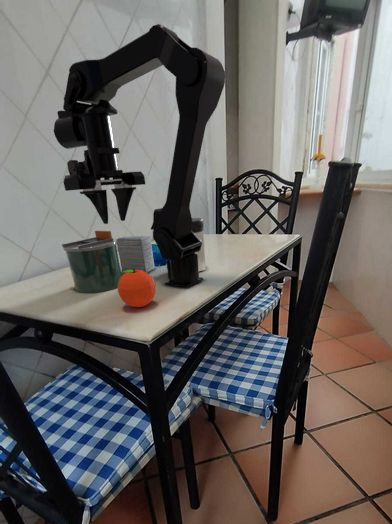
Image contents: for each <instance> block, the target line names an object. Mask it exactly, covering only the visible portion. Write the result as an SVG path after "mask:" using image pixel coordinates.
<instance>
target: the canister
mask: <svg viewBox="0 0 392 524" xmlns="http://www.w3.org/2000/svg"><path fill="white" fill-rule="evenodd" d="M95 238H96V236H95V237H94V236H93V237H89V238H85V239H80V240H75V241H71V242H66V243H62V244H61V247H62V249H63V251H64V252H65V254H66V259H67V262H68V265H69V270H70V273H71V277H72V281H73V285H74V289H75V290H76V291H77V292H79V293H84V294H85V293H87V294H92V293H100V292H102V293H103V292H107V291H110V290H114V289H117V288H118V283H119V280H120V278H121V276H122V275H123V274H122V273H121V272H122V268H121V263H120V258H119V252H118V247H117V241H116V239H114V238H113V237H112V238H109V239H105V240H101V241H96V242H92V243H87V244H83V243H81V242H82V241H86V240H91V239H95ZM118 274H119V275H118ZM117 275H118V276H117ZM116 276H117V277H116ZM115 278H116V280H115ZM114 282H115V283H114Z"/></svg>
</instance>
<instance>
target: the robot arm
mask: <svg viewBox="0 0 392 524" xmlns="http://www.w3.org/2000/svg"><path fill="white" fill-rule="evenodd" d="M162 66H163V67H164V68H165V69H166V70H167V71H168V72H169V73H171V74H172V75H173V76H174V77H175V92H174V94H175V99H176V104H177V105H176V106H177V110H178V115H179V116H178V124H177V125H178V126H177V131H176V138H175V142H174V143H175V144H174V148H173V156H172V162H171V169H170V173H169V175H170V176H169V181H168V182H169V183H168V187H167V193H166V199H165V203H164V205H163V206H162V207H161V208H155V209H154V210H153V214H152V224H151V227H150V230H151V231H152V238H153V239H152V240H153V241H154V242H155V244H156V245H157V248H158V251H159V253H160V255H161V258H162V259H163V260H166V269H167V278H168V280H166V281H165V282H164V284H165V285H168V286H174V287H179V288H189V287H191V286H194V285H196V284H198V283H201V282H202V281H204V277H201V276H200V272H199V270H198V255H197V254H195V253H196V252H199V251H200V250H201V246H202V242H201V240H200V239H199V238H198V237H197V236H196V235H195V234H194V233H193V232H192V218H193V217H192V213H191V209H190V207H191V206H190V205H191V199H192V195H193V191H194V185H195V181H196V177H197V176H196V175H197V171H198V166H199V161H200V156H201V151H202V146H203V142H204V136H205V133H206V128H207V124H208V122H209V120H210V119H211V117H212V116H213V114H214V113H215V111H216V109H217V108H218V105H219V101H220V99H221V96H222V94H223V90H224V87H225V85H226V71H225V68H224V66H223V63H222V62H221V61H220V59H218V58H216V57H214V56H213V55H211V54H209V53H207V52H206V51H204V50H202V49H200V48H199V47H192V46H190V45H189V44H188V43H186V42H185V41H184V40H183V39H181V38H180V37H179V36H178V34H177V33H176V32H175V31H174V30H172V29H170V28H168V27H166V26H165V25H163V24H161V23H157V24H154V25H152V26H151V27H150V28H149V30H148V31H146V32H145V33H142V35H140V36H138V37H137V38H135V39H133V40H132V41H130V42H129V43H126V44H124V45H123V46H122V47H120V48H118V49H117V50H115V51H113V52H111V53H110V54H108V55H106V56H105V57H103V58H99V59H83V60H80V61H77V62H74V63H72V64H71V65H70V67H69V69H68V76H67V81H66V88H65V94H64V96H63V105H62V109H63V110H58V111H57V113H56V114H57V117H58V118H57V119H56V120H55V122H54V123H53V124H54V125H53V134H54V137H55V139H56V141H57V142H58V144H59V145H60V146H61V147H63V148H64V149H67V150H71V149H76V148H82V147H83V148H84V147H86V148H87V149H85V150H83V157H84V159H83V161H78V160H77V159H69V160H68V161H67V162H66V165H67V172H68V174H67V175H65V176H64V178H63V182H62V183H63V187H64V190H65V192H66V191H68V192H69V191H79V194H80V195H84V196H85V197H86V198H87V199H88V200H89V201H90V203H92V205H93V207H94V208H95V210H96V212H97V214H98V216H99V217H100V220H101V221H102V223H103V224H104V225H108V224H109V208H108V195H107V194H108V193H107V189H103V188H102V186H112V185H113V187H114V188H111V192H112V193H113V195H114V196H115V200H116V206H117V210H118V215H119V219H120V221H121V222H124V221H126V217H127V213H128V210H129V207H130V203H131V200H132V197H133V194H134V191H136V190H137V187H136V186H142V185H146V178H145V177H146V176H145V175H144V173H143V171H125V172H123V169H119V165H118V159H117V155H118V154H120V148H119V147H115V141H114V135H113V134H114V133H113V128H112V123H111V116H115V115H118V110H117V109H116V108H115V107H114V106H113V105H112V104H111V103H110V101H112V100H113V99H114V98H115V97H116V95H117V93H118V91H119V89H120V88H122V87H124V86H125V85H126V84H129V83H131V82H132V81H135V80H136V79H139V78H140V77H143V76H144V75H146V74H148V73H150V72H153V71H154V70H156V69H158V68H160V67H162ZM81 190H82V191H81Z"/></svg>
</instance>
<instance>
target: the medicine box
mask: <svg viewBox="0 0 392 524" xmlns="http://www.w3.org/2000/svg"><path fill="white" fill-rule="evenodd" d="M115 240H116V241H117V244H116V248H117V253H118V258H119V264H120V269H121V272H123V271H126V270H133V269H135V270H142V271H144V272H146V273H150V272H152V271H154V269H155V268H156V267H155V261H154V254H153V248H152V240H151V236H150V235H124V236H121V237H118V238H116V239H115ZM123 273H124V272H123Z"/></svg>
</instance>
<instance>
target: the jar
mask: <svg viewBox="0 0 392 524" xmlns="http://www.w3.org/2000/svg"><path fill="white" fill-rule="evenodd" d="M204 226H205V225H204V219H203V218H201V217H192V232H193V233H194V234H195V235H196V236H197V237H198V238H199V239H200V240H201V242H202V246H201V250H200V251H199V252H196V253H195V254H197V255H198V270H199V273H200V272H203V271H206V270H207V269H206V254H205V252H206V251H205V233H204V232H205V231H204Z"/></svg>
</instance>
